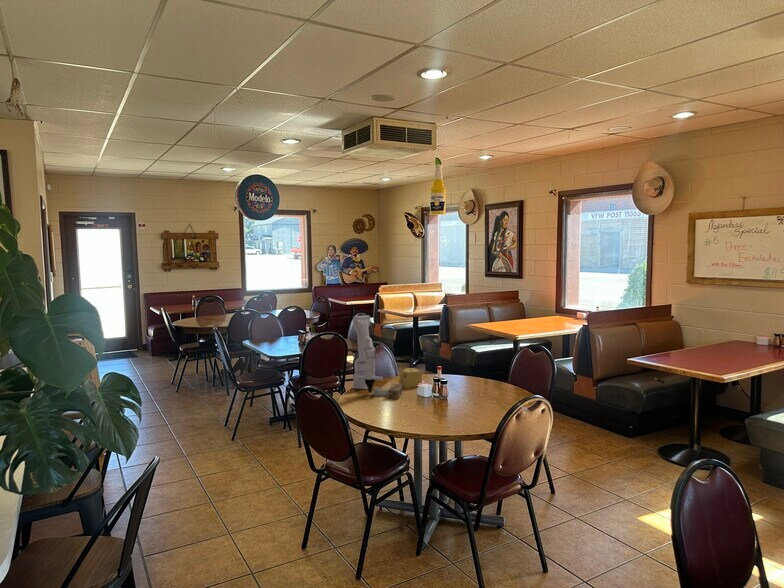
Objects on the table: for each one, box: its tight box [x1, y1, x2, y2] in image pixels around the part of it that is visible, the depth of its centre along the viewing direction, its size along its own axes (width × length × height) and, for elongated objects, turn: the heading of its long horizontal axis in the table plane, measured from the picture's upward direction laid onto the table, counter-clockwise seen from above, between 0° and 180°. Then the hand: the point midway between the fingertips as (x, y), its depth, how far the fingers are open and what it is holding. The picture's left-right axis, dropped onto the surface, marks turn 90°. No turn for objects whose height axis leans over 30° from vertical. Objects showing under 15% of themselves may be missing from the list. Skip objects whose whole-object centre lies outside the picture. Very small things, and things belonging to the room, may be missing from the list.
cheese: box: [398, 367, 423, 389], centre depth 335 cm, size 10×11×10 cm
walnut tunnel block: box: [387, 383, 403, 400], centre depth 313 cm, size 6×14×5 cm, turn 171°
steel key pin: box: [373, 386, 389, 397], centre depth 314 cm, size 13×6×4 cm, turn 81°
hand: (370, 392), depth 315 cm, fingers closed
